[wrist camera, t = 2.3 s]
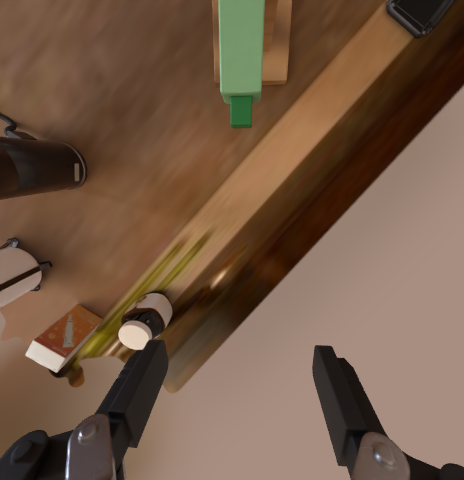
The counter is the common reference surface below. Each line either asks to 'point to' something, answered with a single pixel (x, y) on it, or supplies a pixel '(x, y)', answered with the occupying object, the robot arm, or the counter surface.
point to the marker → (241, 56)
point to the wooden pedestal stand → (265, 41)
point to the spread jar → (145, 320)
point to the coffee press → (18, 272)
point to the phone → (418, 14)
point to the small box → (63, 338)
